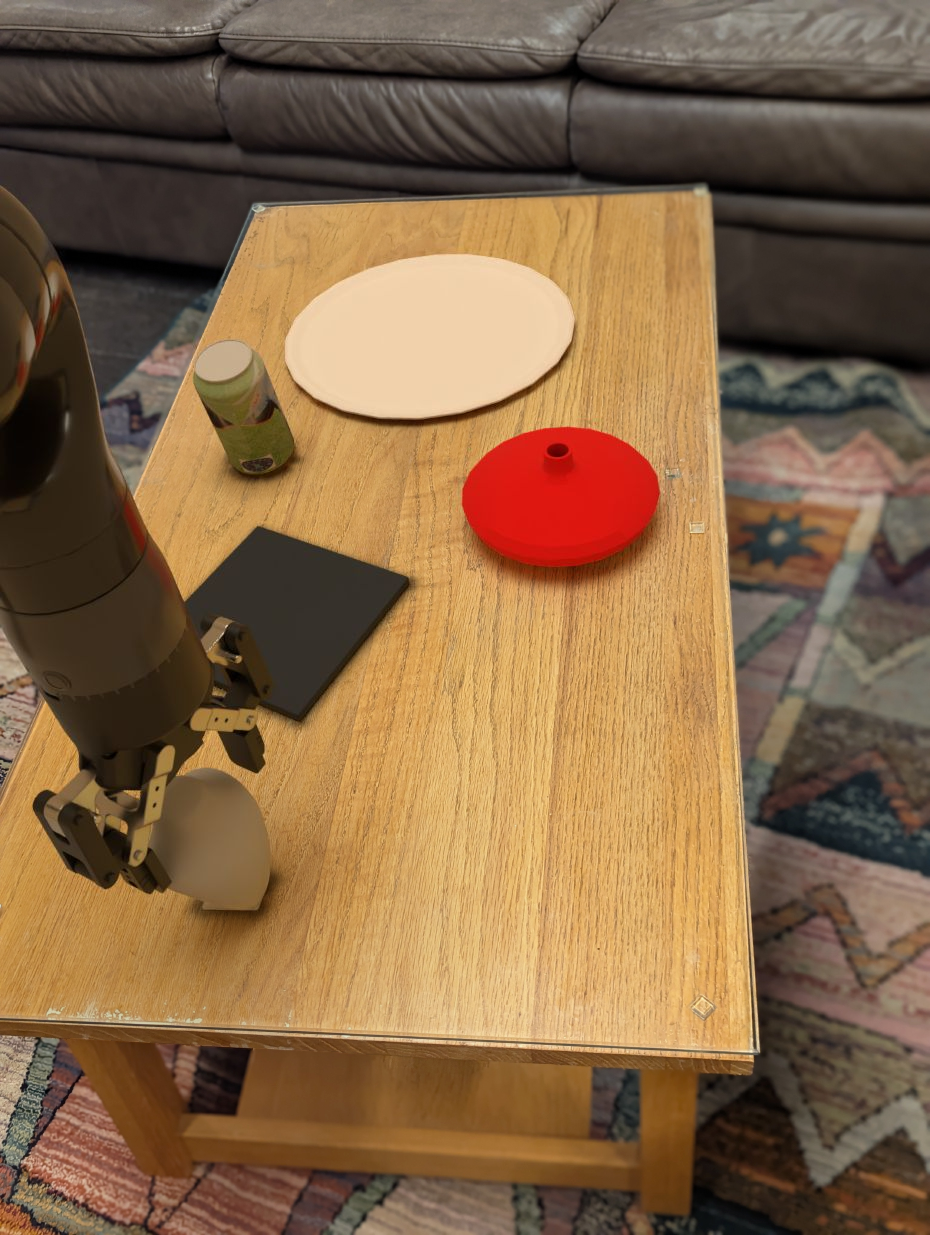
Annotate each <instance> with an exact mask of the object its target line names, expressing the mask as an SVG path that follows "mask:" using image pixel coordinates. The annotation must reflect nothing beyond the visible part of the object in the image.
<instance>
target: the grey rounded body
mask: <svg viewBox="0 0 930 1235" xmlns="http://www.w3.org/2000/svg"><path fill="white" fill-rule="evenodd" d="M148 847H149V848H151V849H153V851H154V853H155V854H156V856H157V858H158V859H159V861H160V863H161V864H162V866H163V868H164V869H165V871H166V873H167V874H168V876H169V878H170V879H171V881H172V883H171V884H170V885H169V887H168V888H167V889H168V890H170V891H172V892H174V893H178V894H180V895H183V896H186V897H189V898H191V899H195V900H196V901H197V900H198V901H201V902H203V904H202V906H201V907H202V908H201V909H202V910H205V911H206V910H207V911H258V910H259V908H260V906H261V904H262V900H263V898H264V897H265V894H266V891H267V889H268V885H269V882H270V876H271V866H272V856H271V855H272V854H271V853H272V852H271V844H270V838H269V833H268V830H267V826H266V822H265V819H264V815H263V812H262V810H261V807H260V805H259V804H258V801H257V800H256V798H255V797H254V795H253V794H252V793H251V792H250V791H249V790H248V788H247V787H246V786H245V785H244V784H243V783H242V782H241V781H240V780H238V779H237V778H236V777H234V776H233V775H231V774H230V773H228V772H225V771H223V770H221V769H219V768H214V767H199V768H194V769H191V770H190V771H187V772H186V773H185V774H181V775H180V774H179V775H176V776H175V777H174V779H173V780H172V781H171V782H170V783H169V784H168V786H167V787H165V793H164V800H163V806H162V812H161V817H160V819H159V820H158V821H156V822H154V823H152V825H151V831H150V837H149V844H148Z"/></svg>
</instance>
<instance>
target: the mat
mask: <svg viewBox="0 0 930 1235" xmlns="http://www.w3.org/2000/svg"><path fill="white" fill-rule="evenodd" d="M410 584H411V582H410V578H409V576H406V575H404V574H401V573H399V572H395V571H393V570H389V569H387V568H383V567H380V566H377V565H375V564H371V563H369V562H366V561H363V560H359V559H357V558H354V557H351V556H348V555H345V554H342V553H340V552H336V551H333V550H331V549H328V548H325V547H322V546H318V545H316V544H312V543H310V542H307V541H305V540H304V541H303V540H301V539H298V538H295V537H292V536H290V535H287V534H283V533H280V532H277V531H274V530H272V529H269V528H265V527H263V526H260V525H257V526H256V527H255V528H254V529H253V530H252V531H251V532H250V533H249V534H248V535H247V537H245V538H244V539H243V540H242V541H241V542H240V543H239V545H238V546H237V547H236V548H235V549H234V550H232V552H231V553H230V554H229V555H228V556H227V557H226V558H224V560H223V561H222V562H221V563H220V564H219V565H218V566H217V567H216V568H215V569H214V570H213V571H212V572H211V574H210V575H209V576H207V578H206V579H205V580H204V581H203V582H202V583H201V584H200V585H199V586H198V587H197V588H196V590H194V591H193V592H192V594H190V596H189V597H188V598H187V599H186V600H184V602H185V605H186V607H187V609H188V612H189V614H190V616H191V619H192V621H193V623H194V626H195V628H196V630H197V633H198V635H199V637H200V640H201V639H202V638H203V637H204V636H203V634H202V632H201V630H200V623H201V620H202V618H203V617H204V616H205V615H206V614H207V613H210V612H211V613H214V614H217V615H219V616H222V617H224V618H227V619H230V620H232V621H235V622H238V623H240V624H243V625H245V626H248V627H249V629H250V631H251V633H252V635H253V638H254V640H255V642H256V644H257V646H258V649H259V651H260V653H261V655H262V657H263V660H264V662H265V664H266V666H267V668H268V671H269V673H270V675H271V677H272V679H273V682H274V690H273V693H272V695H271V696H270V697H269V698H268V699H267V700H262V699H260V701H259V703H258V705H260V706H262V707H264V708H268V709H269V710H272V711H275V712H277V713H279V714H281V715H284V716H286V717H288V718H291V719H293V720H296V721H297V722H301V721H302V720H303V718H304V717H305V716H306V715H307V714H308V713H309V711H310V710H311V708H312V707H313V706H314V705H315V703H316V702H317V701H318V700H319V699H320V697H321V696H322V695H323V694H324V692H325V691H326V690H327V689H328V687H329V686H330V685H331V683H332V682H333V681H334V680H335V678H336V677H337V676H338V675H339V674H340V672H341V671H342V670H343V668H344V667H345V666H346V664H347V663H348V662H349V661H350V660H351V658H353V656H354V655H355V653H356V652H357V651H358V650H359V648H360V647H361V646H362V644H364V643H365V641H366V640H367V638H368V637H369V636H370V635H371V634H372V633H373V630H375V629H376V627H377V626H378V625H379V624H380V622H381V621H382V619H383V618H384V617H385V616H386V615H387V613H388V612H389V611H390V609H391V608H392V607H393V605H395V603H397V601H398V600H399V598H400V597H401V596H402V595H403V593H404V592H405V591H406V589H407V588H408V587H409V585H410ZM213 665H214V668H215V680H214V686H215V687H218V688H220V689H222V690H225V691H226V692H227V691H228V689H229V687H230V686H229V685H228V684H227V682H226V680H225V678H224V676H223V674H222V672H221V670H220V668H219V666H218V664H217V662H215V663H213Z"/></svg>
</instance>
